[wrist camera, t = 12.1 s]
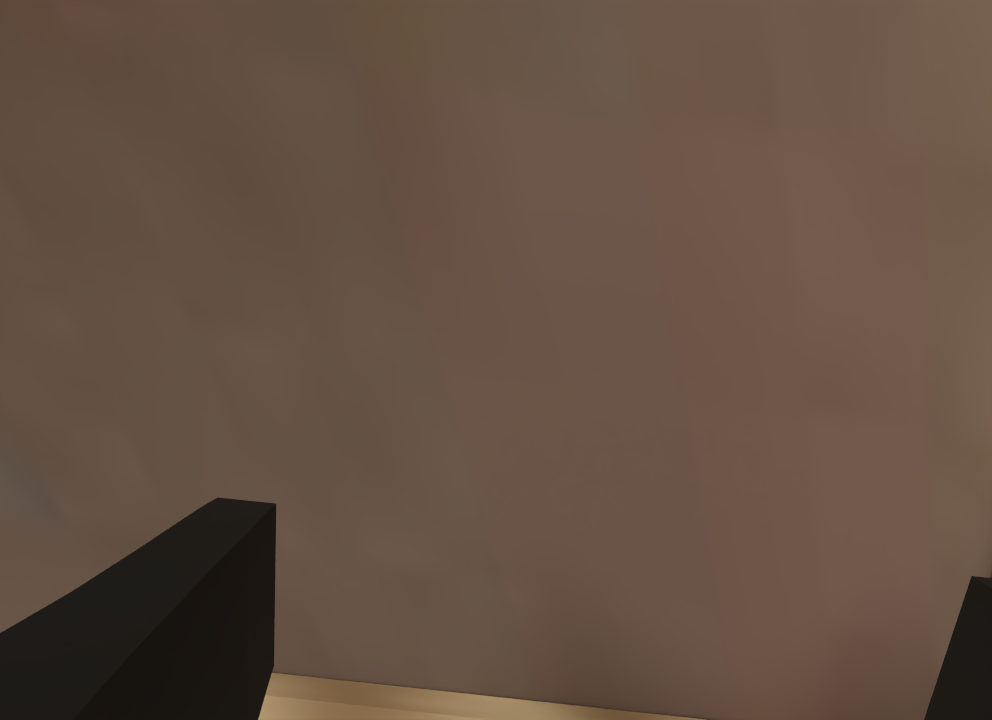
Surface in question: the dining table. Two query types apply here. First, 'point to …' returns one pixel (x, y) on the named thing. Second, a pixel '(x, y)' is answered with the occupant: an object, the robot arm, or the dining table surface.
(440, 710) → the chessboard
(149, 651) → the robot arm
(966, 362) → the dining table surface
